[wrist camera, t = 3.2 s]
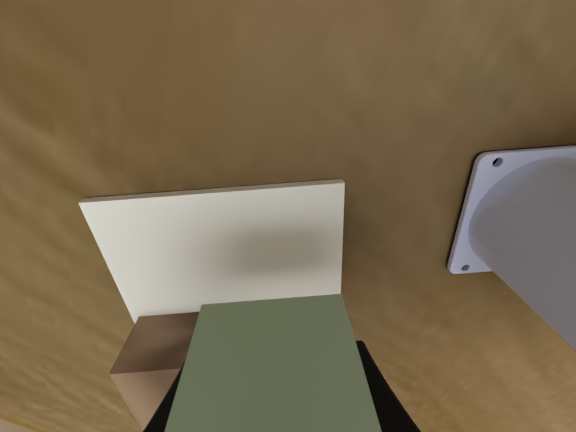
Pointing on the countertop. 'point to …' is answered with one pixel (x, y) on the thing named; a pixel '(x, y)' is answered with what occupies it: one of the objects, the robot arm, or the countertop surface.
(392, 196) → the countertop surface
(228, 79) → the countertop surface
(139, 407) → the walnut base
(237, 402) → the sage cube
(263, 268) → the white rectangular board
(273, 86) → the countertop surface
